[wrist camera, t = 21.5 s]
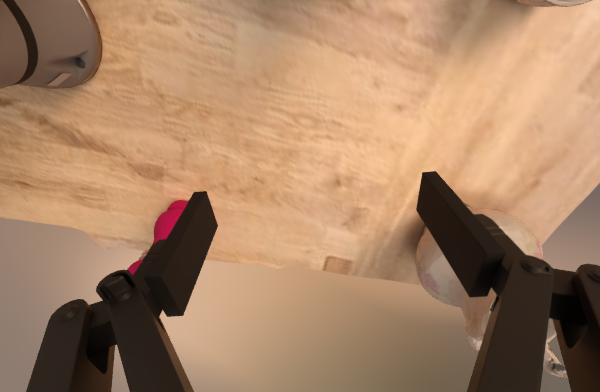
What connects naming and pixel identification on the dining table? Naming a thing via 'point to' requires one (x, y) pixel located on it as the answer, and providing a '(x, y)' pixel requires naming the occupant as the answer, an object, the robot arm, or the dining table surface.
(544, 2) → the teacup
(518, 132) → the dining table surface
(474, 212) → the ceramic pitcher
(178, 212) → the pepper mill
